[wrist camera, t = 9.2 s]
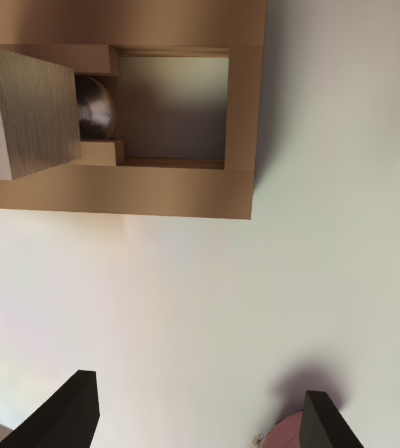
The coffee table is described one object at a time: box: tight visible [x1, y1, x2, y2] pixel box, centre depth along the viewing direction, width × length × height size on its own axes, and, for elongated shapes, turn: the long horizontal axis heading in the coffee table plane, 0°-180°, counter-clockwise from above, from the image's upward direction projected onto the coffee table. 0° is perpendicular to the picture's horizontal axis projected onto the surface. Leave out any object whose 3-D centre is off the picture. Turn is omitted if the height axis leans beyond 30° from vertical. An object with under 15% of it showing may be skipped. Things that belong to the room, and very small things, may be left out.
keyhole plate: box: [0, 0, 267, 220], centre depth 17 cm, size 14×10×3 cm
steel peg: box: [0, 49, 117, 180], centre depth 14 cm, size 4×4×10 cm
